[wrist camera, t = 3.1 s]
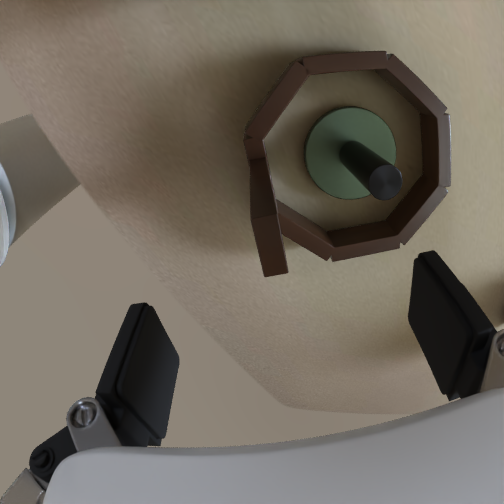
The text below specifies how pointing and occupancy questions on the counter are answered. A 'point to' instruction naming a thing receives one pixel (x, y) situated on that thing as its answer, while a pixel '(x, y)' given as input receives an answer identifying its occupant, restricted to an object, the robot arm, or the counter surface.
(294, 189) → the counter surface
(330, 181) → the post
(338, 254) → the ring
